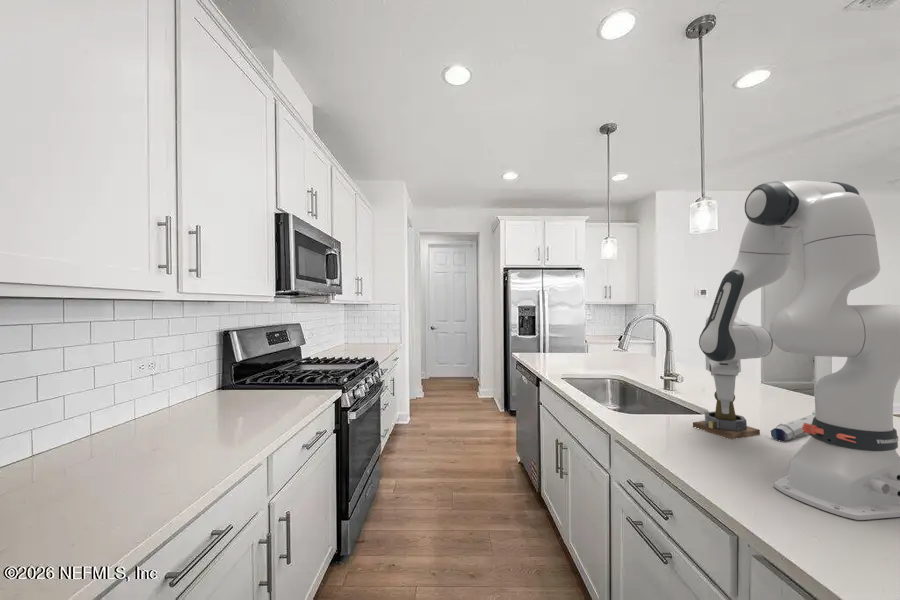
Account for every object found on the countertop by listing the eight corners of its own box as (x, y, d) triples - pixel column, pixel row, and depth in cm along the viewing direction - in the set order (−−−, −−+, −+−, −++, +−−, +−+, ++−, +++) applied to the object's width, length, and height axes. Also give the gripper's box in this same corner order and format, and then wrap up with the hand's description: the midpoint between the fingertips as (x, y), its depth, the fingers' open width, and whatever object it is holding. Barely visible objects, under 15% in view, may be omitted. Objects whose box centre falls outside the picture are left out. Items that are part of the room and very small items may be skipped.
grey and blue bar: (766, 425, 108) (814, 404, 117) (769, 447, 108) (817, 424, 117) (788, 430, 103) (836, 408, 112) (791, 453, 103) (839, 429, 112)
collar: (727, 433, 108) (726, 423, 108) (695, 423, 118) (695, 413, 118) (753, 429, 111) (753, 419, 111) (721, 419, 121) (720, 410, 121)
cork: (741, 426, 114) (739, 390, 114) (733, 430, 111) (732, 393, 111) (718, 421, 119) (717, 387, 119) (710, 425, 116) (709, 390, 116)
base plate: (730, 439, 107) (730, 434, 107) (692, 427, 119) (692, 422, 119) (760, 434, 111) (759, 429, 111) (720, 423, 122) (720, 418, 122)
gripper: (709, 360, 126) (711, 400, 125) (711, 369, 109) (712, 416, 108) (733, 361, 122) (734, 403, 122) (738, 370, 105) (740, 419, 105)
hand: (724, 409), depth 115 cm, fingers open, 8 cm apart
